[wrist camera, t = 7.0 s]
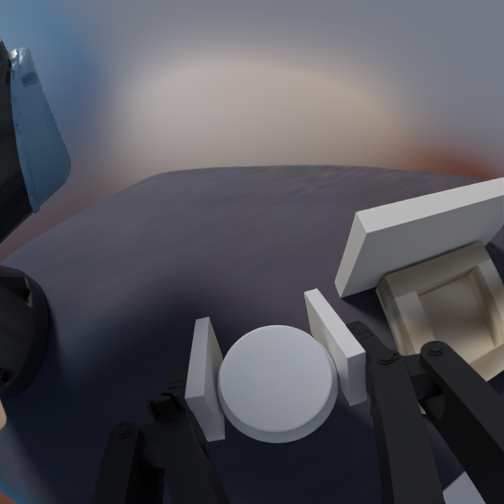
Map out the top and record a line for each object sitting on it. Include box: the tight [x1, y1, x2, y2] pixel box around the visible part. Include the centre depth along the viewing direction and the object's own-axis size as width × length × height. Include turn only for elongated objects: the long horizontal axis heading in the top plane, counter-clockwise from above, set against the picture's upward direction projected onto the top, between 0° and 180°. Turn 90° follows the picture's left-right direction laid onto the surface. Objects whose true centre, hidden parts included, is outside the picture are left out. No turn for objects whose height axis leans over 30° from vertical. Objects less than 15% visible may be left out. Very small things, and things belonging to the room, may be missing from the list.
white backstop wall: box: [335, 178, 504, 298], centre depth 21 cm, size 2×18×10 cm, turn 103°
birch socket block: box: [375, 241, 504, 414], centre depth 21 cm, size 12×12×3 cm
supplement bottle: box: [217, 325, 338, 443], centre depth 14 cm, size 5×5×10 cm
